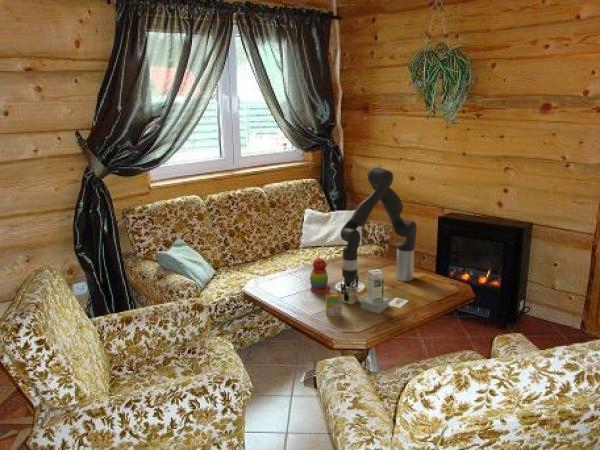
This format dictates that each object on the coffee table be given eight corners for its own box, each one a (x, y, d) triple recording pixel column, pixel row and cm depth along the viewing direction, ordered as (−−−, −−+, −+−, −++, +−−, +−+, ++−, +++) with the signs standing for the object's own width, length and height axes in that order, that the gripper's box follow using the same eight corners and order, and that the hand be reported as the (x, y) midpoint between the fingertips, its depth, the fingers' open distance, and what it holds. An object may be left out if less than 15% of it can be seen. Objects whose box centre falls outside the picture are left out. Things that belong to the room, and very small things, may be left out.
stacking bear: (327, 295, 260) (327, 262, 255) (308, 293, 262) (308, 261, 257) (330, 287, 270) (330, 255, 265) (312, 285, 272) (311, 254, 267)
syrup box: (372, 302, 240) (373, 274, 236) (367, 297, 246) (367, 269, 242) (383, 300, 242) (384, 272, 238) (378, 296, 247) (378, 268, 243)
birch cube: (347, 297, 256) (347, 286, 255) (357, 300, 253) (357, 289, 251) (341, 301, 252) (341, 290, 250) (351, 304, 248) (351, 293, 247)
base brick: (370, 301, 251) (370, 294, 250) (388, 306, 245) (388, 298, 244) (360, 308, 243) (360, 301, 242) (379, 313, 238) (379, 305, 236)
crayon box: (341, 313, 239) (341, 290, 236) (342, 316, 236) (342, 293, 233) (326, 313, 238) (325, 291, 235) (326, 316, 236) (326, 293, 232)
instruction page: (395, 297, 255) (395, 297, 255) (408, 300, 251) (408, 300, 251) (386, 304, 247) (386, 304, 247) (400, 308, 243) (400, 307, 243)
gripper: (349, 273, 240) (348, 305, 244) (363, 264, 251) (363, 295, 255) (335, 270, 244) (335, 302, 248) (350, 261, 255) (350, 292, 260)
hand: (349, 298), depth 252 cm, fingers closed on birch cube, 6 cm apart
